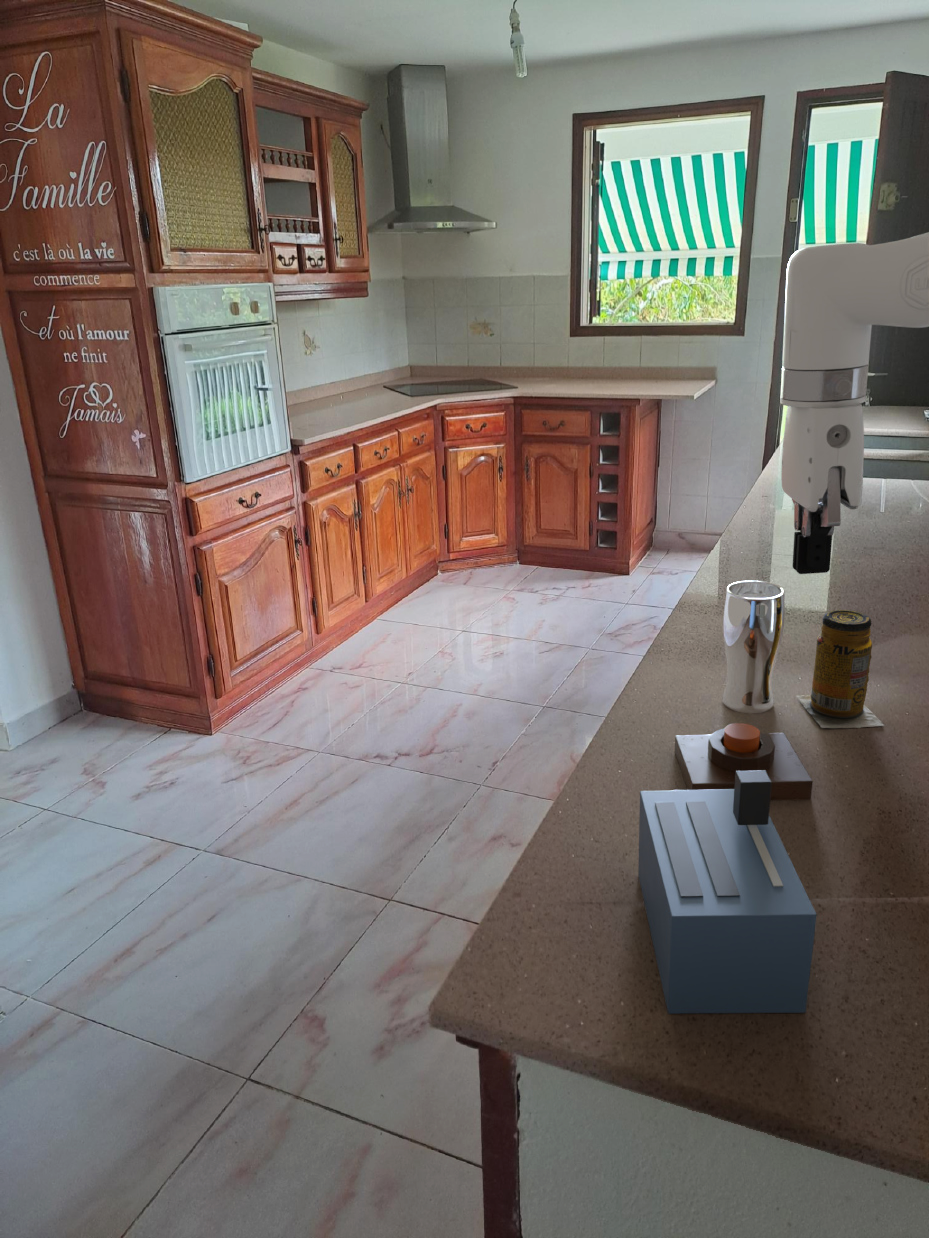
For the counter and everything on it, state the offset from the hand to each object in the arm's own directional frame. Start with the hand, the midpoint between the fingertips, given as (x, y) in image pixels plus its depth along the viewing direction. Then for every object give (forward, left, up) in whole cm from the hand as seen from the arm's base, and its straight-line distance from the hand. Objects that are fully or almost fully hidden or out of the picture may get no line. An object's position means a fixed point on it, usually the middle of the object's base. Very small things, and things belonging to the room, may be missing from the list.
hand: (810, 570), depth 89 cm
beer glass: (+2, -13, -22) cm, 25 cm away
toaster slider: (+12, +25, -12) cm, 30 cm away
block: (+7, +4, -22) cm, 23 cm away
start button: (+7, +4, -18) cm, 20 cm away
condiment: (-8, -10, -22) cm, 25 cm away
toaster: (+15, +28, -22) cm, 38 cm away
